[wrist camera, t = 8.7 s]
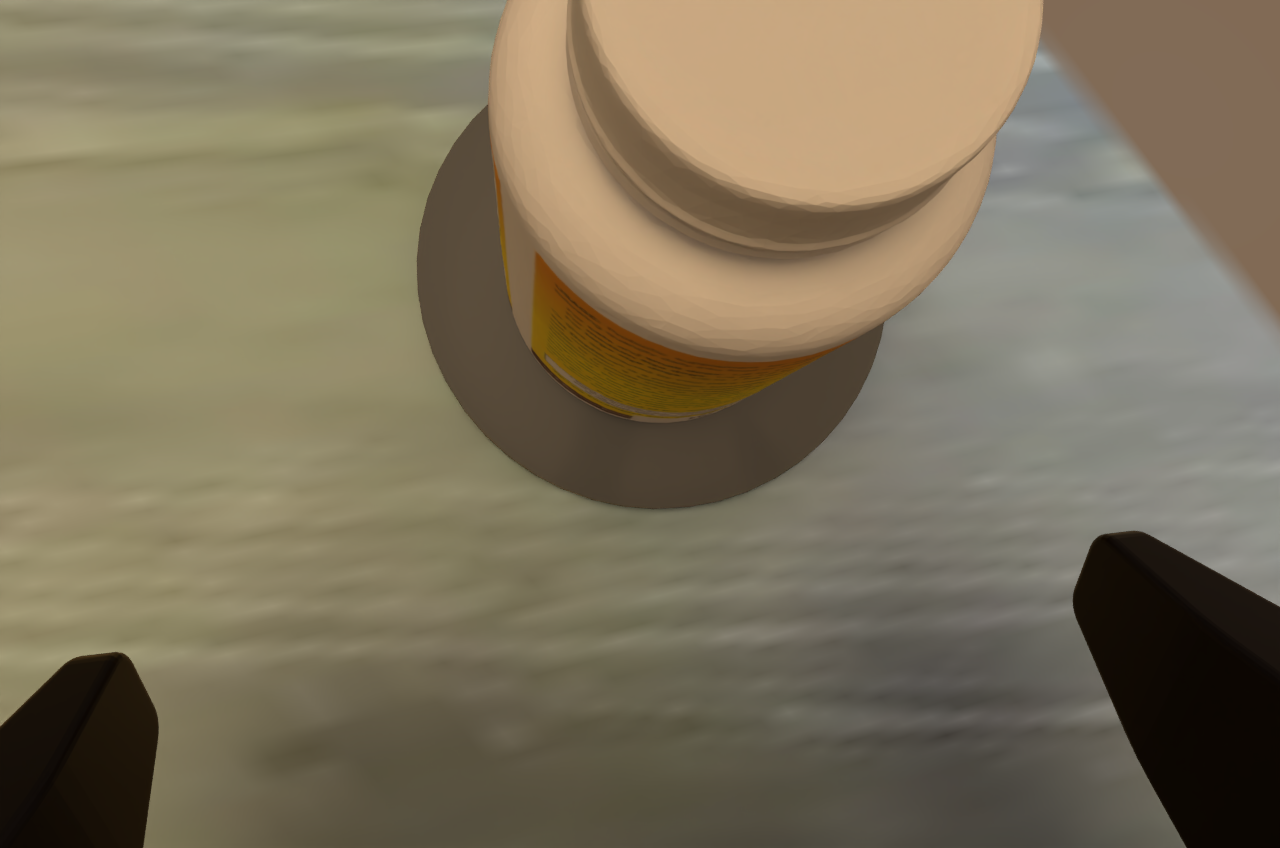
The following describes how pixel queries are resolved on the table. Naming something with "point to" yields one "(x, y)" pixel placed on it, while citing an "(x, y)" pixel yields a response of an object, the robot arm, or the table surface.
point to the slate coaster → (568, 427)
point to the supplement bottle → (736, 179)
